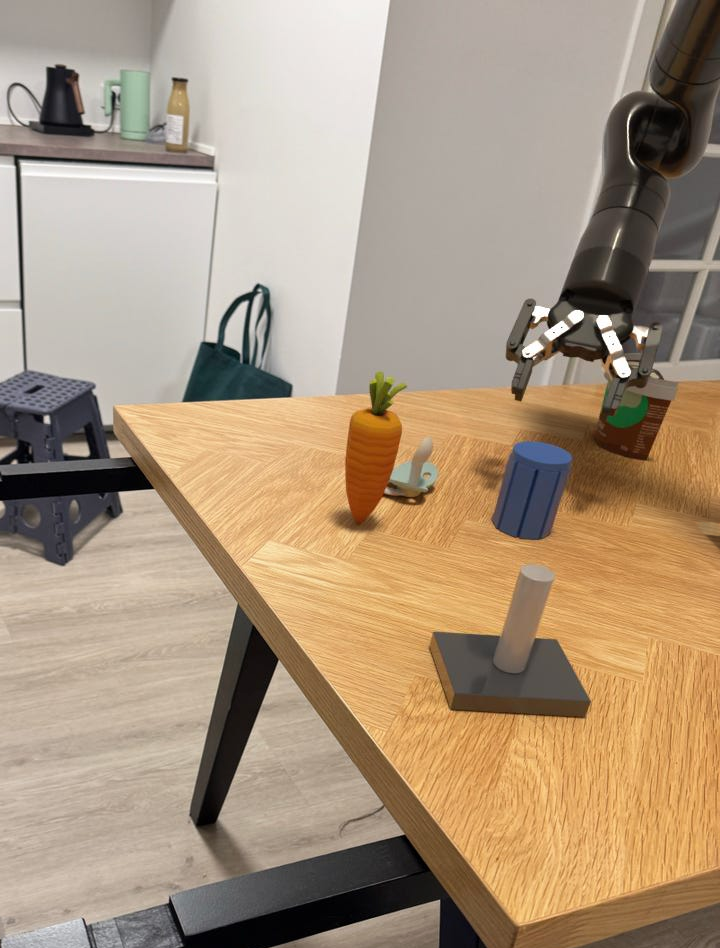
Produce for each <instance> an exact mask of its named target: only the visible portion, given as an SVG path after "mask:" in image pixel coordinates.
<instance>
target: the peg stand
mask: <svg viewBox="0 0 720 948" xmlns="http://www.w3.org/2000/svg"><path fill="white" fill-rule="evenodd" d="M555 579H556V575H555V572H553V571H552V570H551V569H550V568H548V567H546V566H543V565H540V564H535V563H529V564H528V563H527V564H524V565H521V567H520V568H519V572H518V576H517V578H516V582H515V585H514V589H513V591H512V595H511V599H510V602H509V605H508V608H507V612H506V616H505V619H504V621H503V625H502V629H501V632H500V634H499V635H498V634H497V635H496V634H480V633H466V632H450V631H435V630H434V631H432V634H431V637H430V642H429V649H430V652H431V655H432V658H433V661H434V663H435V664H434V665H435V668H436V670H437V673H438V676H439V679H440V683H441V685H442V687H443V691H444V694H445V696H446V700H447V703H448V705H449V709H450V710H453V711H454V710H455V711H471V712H491V713H507V714H525V715H542V716H557V717H558V716H560V717H574V718H585V717H586V716H587V713H588V711H589V708H590V705H591V703H592V700H591V699H590V697H589V696H590V695H588V692H587V691H586V689H585V688H584V685H583V684H582V681H581V680H580V678H579V677H578V675H577V673H576V671H575V669H574V668H573V666H572V664H571V662H570V661H569V658H568V656H567V655H566V653H565V651H564V649H563V648H562V646H561V644H560V642H559V640H558V639H557V638H545V637H537V634H538V631H539V627H540V624H541V622H542V619H543V615H544V613H545V609H546V608H547V607H546V606H547V604H548V600H549V598H550V594H551V591H552V588H553V585H554V583H555Z"/></svg>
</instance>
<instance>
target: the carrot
mask: <svg viewBox="0 0 720 948" xmlns="http://www.w3.org/2000/svg"><path fill="white" fill-rule="evenodd" d="M384 379H385V380H384ZM395 381H396V379H394V378H393V377H392V376H387V377H386V378H385V372H383V371H377V372H375V375H374V378H372V379H370V380H369V385H368V387H369V388H368V389H369V396H370V402H371V407H365V408H363V409H359V410H356V411H355V412H353V413H352V415H351V417H350V420H349V426H348V433H347V441H346V449H345V459H344V471H345V472H344V473H345V475H344V476H345V477H344V478H345V491H346V497H347V502H348V506H349V509H350V513H351V515H352V519H353V521H354V522H355V523H356V524H357V525H361V524H363V523H364V522H366V520H367V519H368V518H369V517H370V516H371V514H373V512H374V511H375V509H376V508H377V506H378V505H379V503H380V502H381V500H382V498H383V496H384V494H385V493H384V491H385V489H386V487H388V484H389V483H390V482H389V479H390V477H391V474H392V471H393V469H395V464H396V460H397V456H398V451H399V447H400V444H401V439H402V434H403V425H402V422H401V420H400V418H399V416H398V414H397V413H395V412H393V411H390V410H388V409H389V408H390V407H391V406H393V405H394V401H393V400H392V399H393V398H394V397H395V396H396V395H397V394H398V393H399V392H401V391H403V390H405V389H406V388H408V385H407V383H405V382H401V383H399V384H397V385H396V386H394V387H393V385H394V383H395ZM392 387H393V388H392Z"/></svg>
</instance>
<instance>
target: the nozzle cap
mask: <svg viewBox="0 0 720 948" xmlns="http://www.w3.org/2000/svg"><path fill="white" fill-rule="evenodd" d="M572 461H573V456H572V453H570V452H569V451H568V450H566V449H564V448H562V447H560V446H557V445H555V444H551V443H547V442H542V441H534V440H533V441H532V440H530V441H529V440H526V441H520V442H516V443H515V444H514V445H513V446H512V450H511V452H510V453H509V456H508V459H507V463H506V467H505V471H504V474H503V478H502V482H501V486H500V489H499V493H498V496H497V500H496V504H495V507H494V511H493V515H492V518H491V521H492V523H493V525H494V526H495V528H496V530H497V529H498V531H499V532H502V533H503V534H507V535H509V536H512V537H513V538H517V537H518V538H519V539H522V540H523V539H525V540H537V541H538V540H539V539H540V540H542V539H544V538H546V537H548V536H550V535H551V533H552V529H553V526H554V523H555V520H556V517H557V515H558V514H557V513H558V511H559V507H560V504H561V501H562V498H563V495H564V491H565V489H566V485H567V482H568V479H569V475H570V472H571V469H572Z"/></svg>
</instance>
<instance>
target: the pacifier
mask: <svg viewBox="0 0 720 948" xmlns="http://www.w3.org/2000/svg"><path fill="white" fill-rule="evenodd" d="M433 451H434V443H433V440H432V439H431V437H429V436H427V435H426V436H425V437H424V438H423V439H422V440H421V442H420V444H419V445H418V447H417V448H416V450H415V452H414V454H413V457H412V459H411V460H408V461H405V462H403V463H401V464H399V465H397V466H396V467H394V468H393V471H392V474H391V477H390V479H389V482H388V483H390V484H393V485H395V486H396V488H393V487H389V486H387V487H386V489H385V491H384V494H385V495H388V496H402V497H406V498H416V497H418V496H419V495H420V494H421V493H428V491H429V488H430V487H432V486H433V485H435V484H436V483H437V480H438V478H439V471H438V468H437V467H436V465H435V464H434V463H433V462H431V461H429V459H430V457H432V453H433ZM426 475H428V477H425V476H426Z"/></svg>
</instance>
